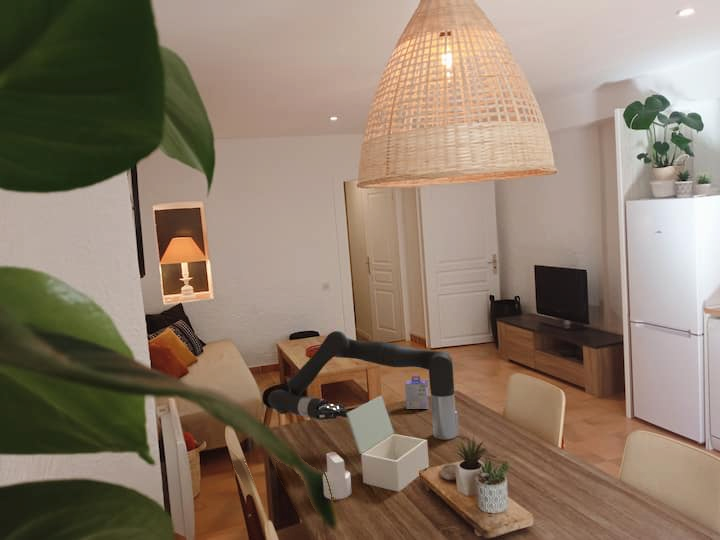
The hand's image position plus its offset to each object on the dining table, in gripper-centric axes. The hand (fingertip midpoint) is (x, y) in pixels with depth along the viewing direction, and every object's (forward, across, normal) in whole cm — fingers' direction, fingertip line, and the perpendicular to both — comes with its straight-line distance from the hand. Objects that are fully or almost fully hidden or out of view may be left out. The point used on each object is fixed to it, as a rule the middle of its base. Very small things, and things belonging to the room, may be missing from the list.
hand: (350, 414), depth 210 cm
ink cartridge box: (-10, +64, +19) cm, 67 cm away
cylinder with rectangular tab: (+8, -19, +19) cm, 28 cm away
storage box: (+18, 0, +19) cm, 26 cm away
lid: (+9, 0, +2) cm, 9 cm away
